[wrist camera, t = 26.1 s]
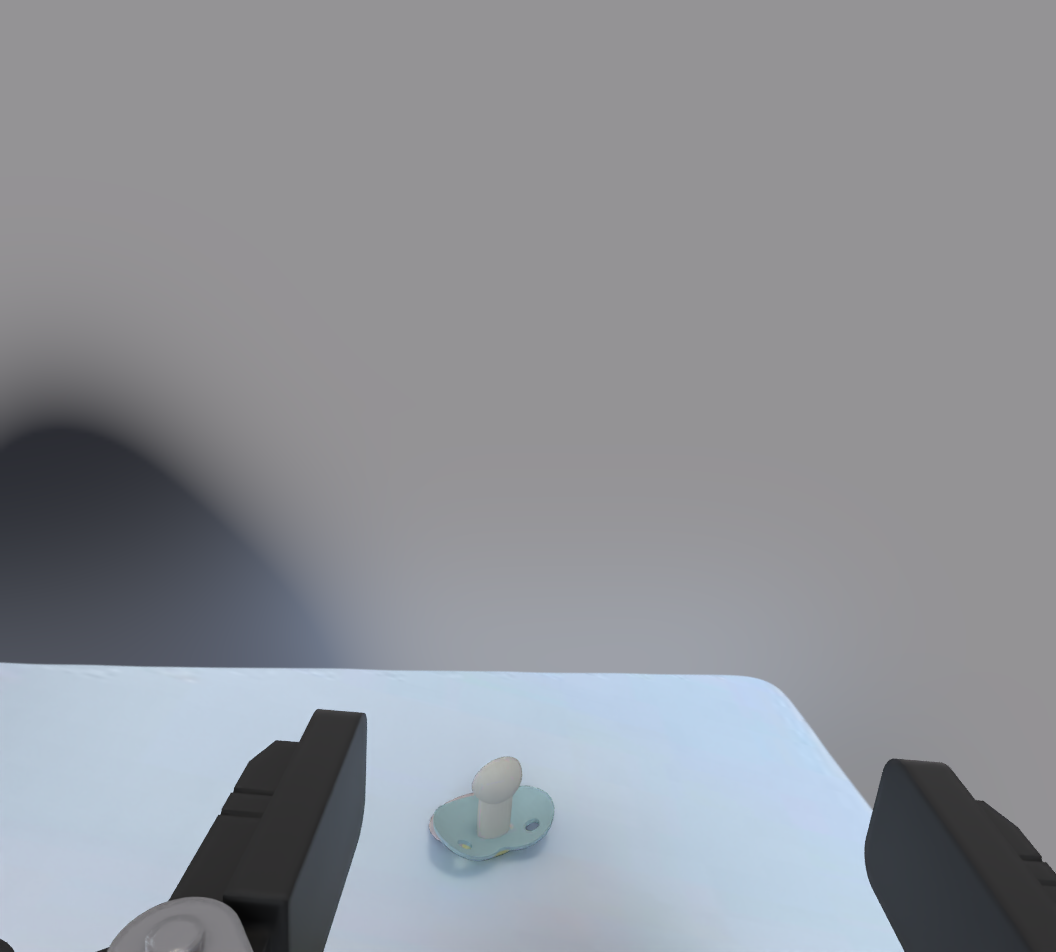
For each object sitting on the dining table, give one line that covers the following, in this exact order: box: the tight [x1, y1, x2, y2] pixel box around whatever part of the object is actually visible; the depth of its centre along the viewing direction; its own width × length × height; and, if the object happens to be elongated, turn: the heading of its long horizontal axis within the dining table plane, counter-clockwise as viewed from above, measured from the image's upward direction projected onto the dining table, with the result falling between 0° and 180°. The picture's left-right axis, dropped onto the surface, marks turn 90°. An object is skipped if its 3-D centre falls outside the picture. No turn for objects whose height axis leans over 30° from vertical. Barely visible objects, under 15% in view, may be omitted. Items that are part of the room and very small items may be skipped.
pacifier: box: [429, 757, 554, 861], centre depth 45 cm, size 7×6×6 cm
